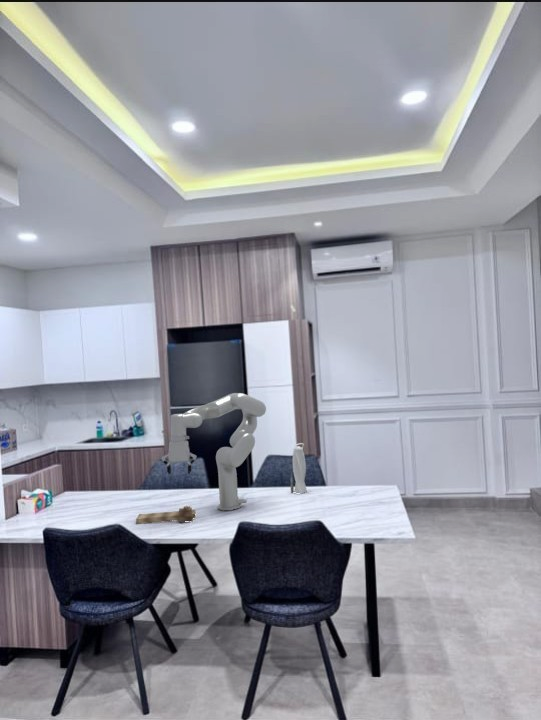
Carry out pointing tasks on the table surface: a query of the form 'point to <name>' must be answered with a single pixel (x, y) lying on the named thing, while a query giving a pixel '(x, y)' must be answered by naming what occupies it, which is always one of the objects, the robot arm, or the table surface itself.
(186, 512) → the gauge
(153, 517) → the board
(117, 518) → the table surface
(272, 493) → the table surface
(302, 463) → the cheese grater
